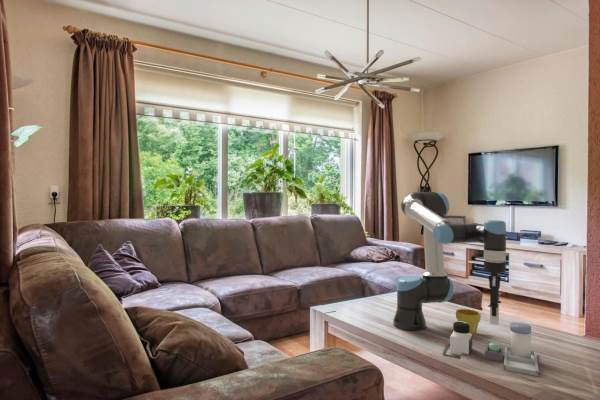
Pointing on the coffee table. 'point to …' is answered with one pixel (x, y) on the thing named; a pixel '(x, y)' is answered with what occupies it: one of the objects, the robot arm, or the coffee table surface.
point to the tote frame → (446, 354)
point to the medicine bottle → (460, 338)
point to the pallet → (514, 361)
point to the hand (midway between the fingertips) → (494, 322)
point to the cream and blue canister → (520, 340)
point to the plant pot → (469, 318)
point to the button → (494, 347)
